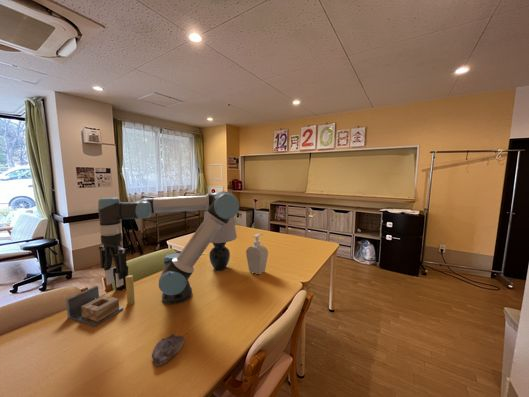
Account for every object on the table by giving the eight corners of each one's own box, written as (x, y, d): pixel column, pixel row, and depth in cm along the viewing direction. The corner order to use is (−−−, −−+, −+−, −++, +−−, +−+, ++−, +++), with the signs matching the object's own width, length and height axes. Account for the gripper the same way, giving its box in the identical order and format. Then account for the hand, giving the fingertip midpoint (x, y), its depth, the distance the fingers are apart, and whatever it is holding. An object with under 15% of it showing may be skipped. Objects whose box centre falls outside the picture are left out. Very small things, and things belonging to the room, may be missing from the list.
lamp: (194, 270, 151) (192, 212, 146) (219, 259, 171) (218, 208, 167) (220, 279, 138) (219, 216, 134) (243, 265, 158) (243, 211, 154)
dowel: (136, 301, 114) (134, 275, 112) (130, 305, 111) (128, 278, 109) (131, 300, 115) (129, 274, 113) (125, 303, 112) (124, 277, 110)
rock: (145, 363, 77) (144, 351, 76) (169, 340, 87) (168, 329, 87) (164, 370, 74) (163, 357, 74) (186, 345, 85) (186, 334, 84)
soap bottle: (269, 271, 150) (269, 234, 147) (260, 276, 142) (260, 237, 139) (255, 266, 157) (255, 231, 154) (246, 271, 149) (245, 234, 146)
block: (119, 308, 106) (118, 298, 105) (97, 321, 96) (96, 311, 96) (104, 304, 109) (103, 295, 108) (82, 316, 100) (81, 306, 99)
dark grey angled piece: (123, 309, 107) (121, 291, 106) (94, 326, 95) (93, 307, 94) (97, 302, 113) (96, 285, 112) (67, 317, 101) (65, 299, 100)
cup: (121, 292, 123) (120, 271, 121) (110, 290, 124) (108, 270, 123) (132, 285, 130) (131, 266, 129) (121, 284, 132) (120, 265, 130)
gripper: (134, 233, 95) (138, 284, 98) (105, 229, 101) (108, 277, 104) (118, 237, 88) (122, 292, 91) (87, 233, 94) (91, 285, 97)
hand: (115, 284), depth 97 cm, fingers open, 5 cm apart
